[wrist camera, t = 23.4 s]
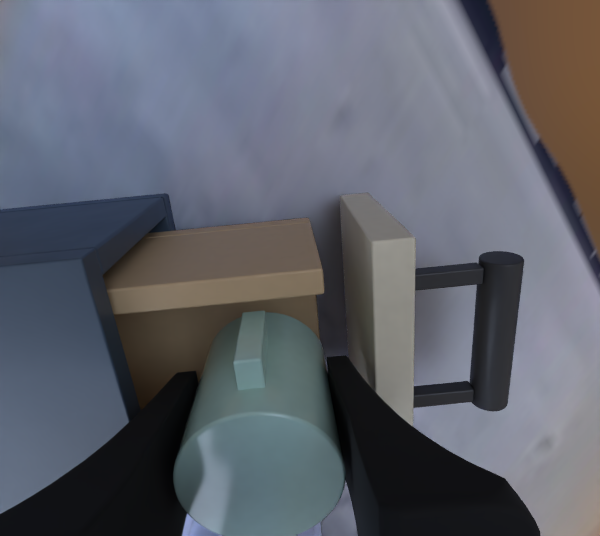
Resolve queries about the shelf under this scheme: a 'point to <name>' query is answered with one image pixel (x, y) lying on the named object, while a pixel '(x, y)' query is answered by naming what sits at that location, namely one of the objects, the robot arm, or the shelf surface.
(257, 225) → the drawer
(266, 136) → the shelf surface
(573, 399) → the shelf surface
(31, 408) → the cabinet
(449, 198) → the shelf surface
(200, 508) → the cream jug
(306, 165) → the shelf surface
